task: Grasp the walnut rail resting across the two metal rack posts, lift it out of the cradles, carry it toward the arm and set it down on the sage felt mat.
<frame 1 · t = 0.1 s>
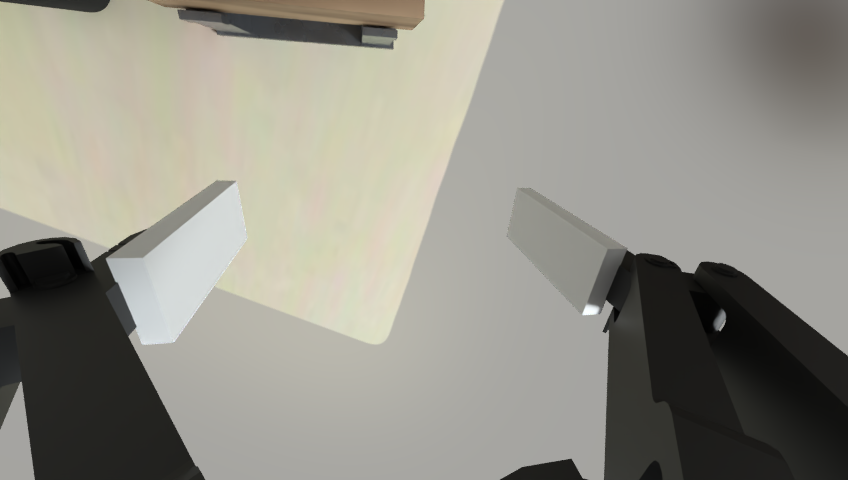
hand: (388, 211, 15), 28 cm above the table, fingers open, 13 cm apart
rack: (307, 9, 33), on the table
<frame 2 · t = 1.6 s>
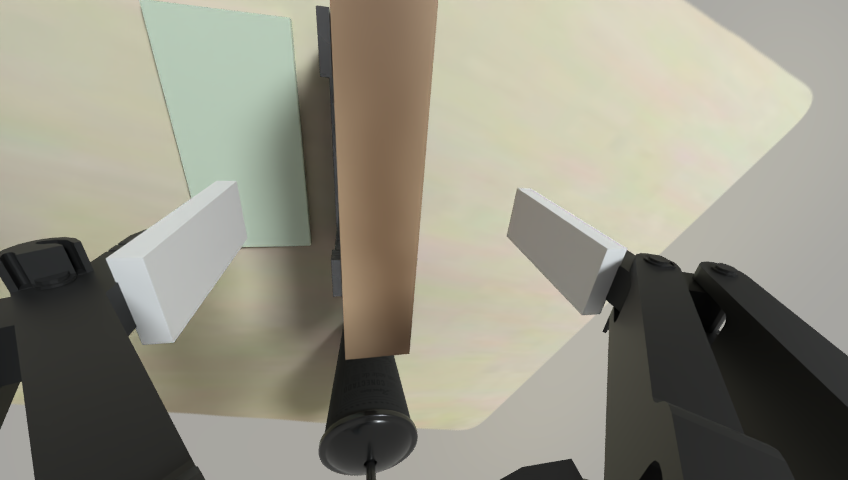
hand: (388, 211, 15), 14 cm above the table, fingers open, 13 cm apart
rack: (368, 150, 27), on the table
drinking cup: (364, 325, 36), on the table
mat: (244, 145, 25), on the table
rail: (374, 175, 20), point 8 cm above the table, touching rack
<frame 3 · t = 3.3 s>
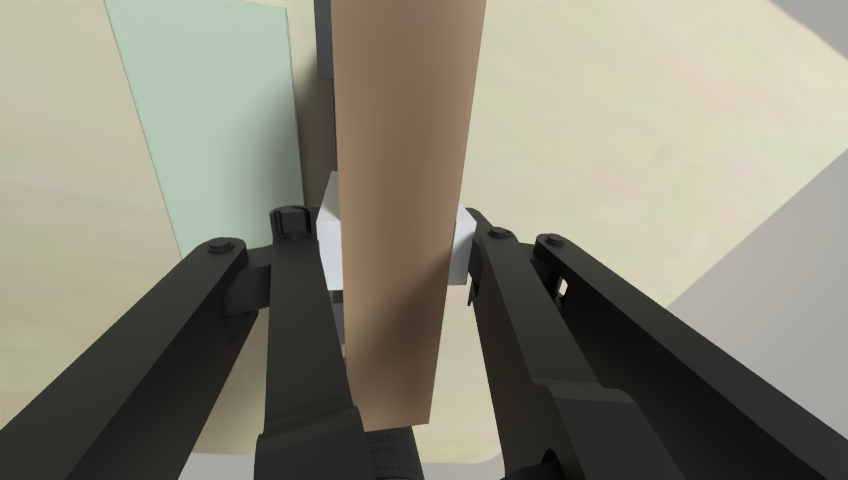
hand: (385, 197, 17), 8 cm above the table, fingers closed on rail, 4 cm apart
rack: (378, 164, 24), on the table
drinking cup: (370, 356, 32), on the table
mat: (232, 159, 22), on the table
rail: (385, 199, 17), point 8 cm above the table, touching gripper, rack
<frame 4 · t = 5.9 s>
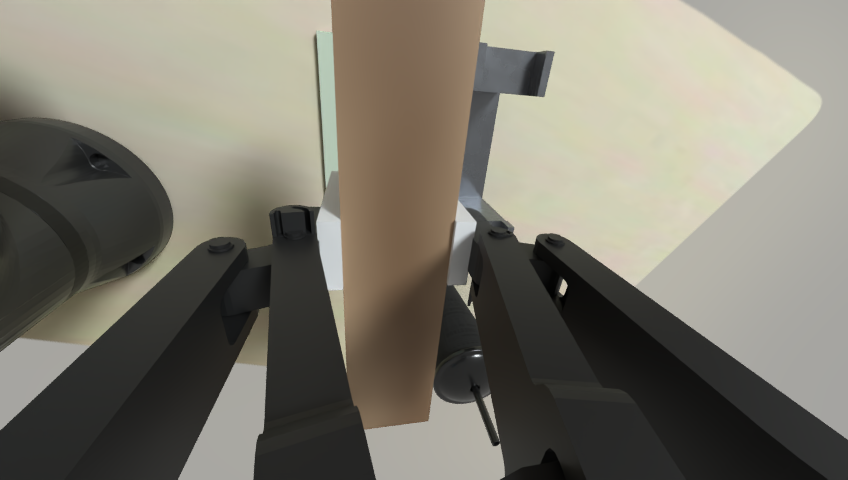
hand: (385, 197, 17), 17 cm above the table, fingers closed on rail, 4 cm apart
rack: (462, 145, 34), on the table
drinking cup: (438, 294, 43), on the table
mat: (369, 141, 32), on the table
rail: (385, 199, 17), point 18 cm above the table, touching gripper
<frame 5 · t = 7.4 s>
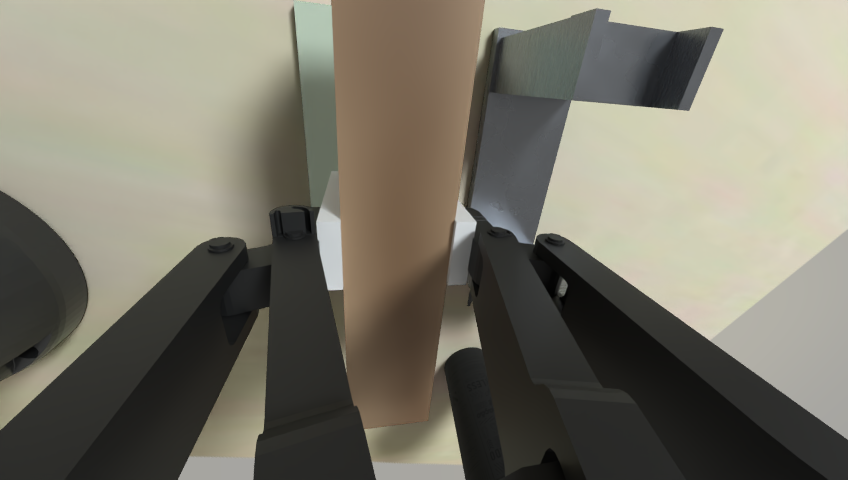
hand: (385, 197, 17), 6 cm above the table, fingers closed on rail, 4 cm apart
rack: (509, 174, 24), on the table
drinking cup: (466, 362, 33), on the table
mat: (377, 170, 22), on the table
rail: (385, 199, 17), point 6 cm above the table, touching gripper
when the fingers open (2 cm above the table, at t = 8.8 s): rail drops 1 cm, resting on mat.
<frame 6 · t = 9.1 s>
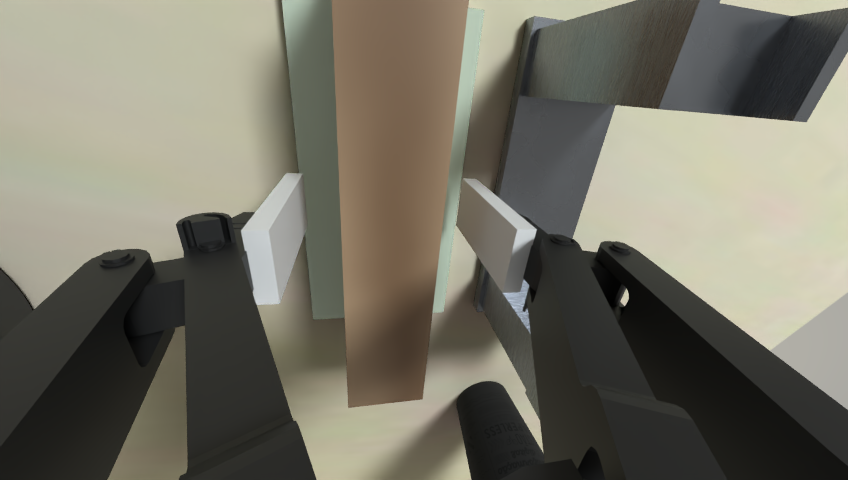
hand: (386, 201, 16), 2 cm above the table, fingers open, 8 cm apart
rack: (537, 191, 20), on the table
drinking cup: (480, 397, 29), on the table
mat: (383, 188, 18), on the table
rail: (382, 191, 18), point 1 cm above the table, touching mat
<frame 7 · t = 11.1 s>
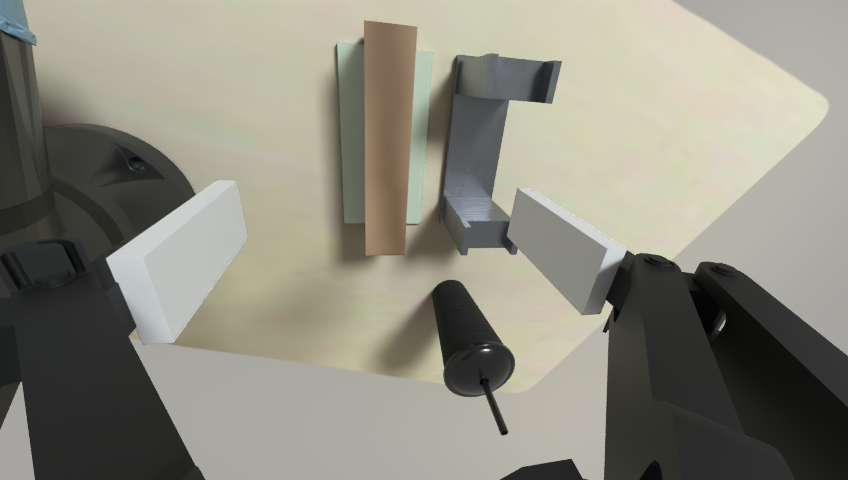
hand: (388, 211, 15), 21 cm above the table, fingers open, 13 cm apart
rack: (472, 149, 36), on the table
drinking cup: (448, 292, 44), on the table
mat: (384, 144, 34), on the table
rail: (384, 145, 33), point 1 cm above the table, touching mat
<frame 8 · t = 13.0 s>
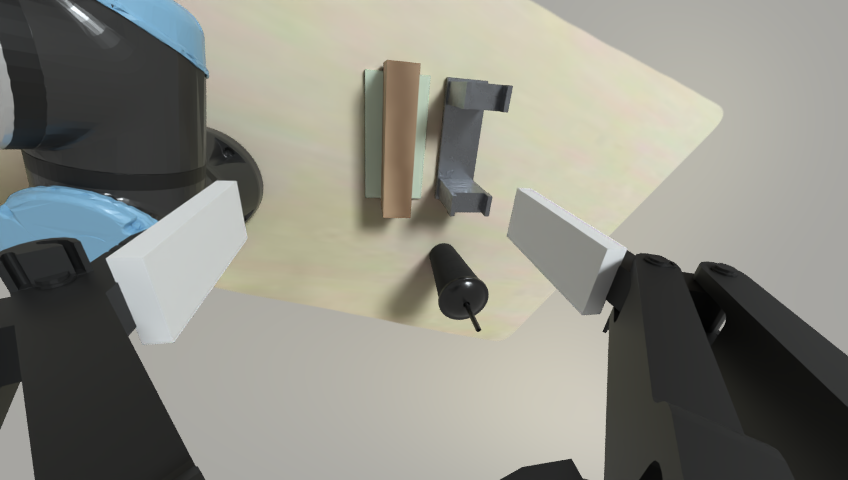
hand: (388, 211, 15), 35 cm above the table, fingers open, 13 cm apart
rack: (458, 143, 49), on the table
drinking cup: (442, 254, 58), on the table
mat: (395, 139, 47), on the table
rail: (395, 140, 47), point 1 cm above the table, touching mat
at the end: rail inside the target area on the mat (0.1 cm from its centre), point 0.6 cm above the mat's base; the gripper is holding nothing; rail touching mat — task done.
